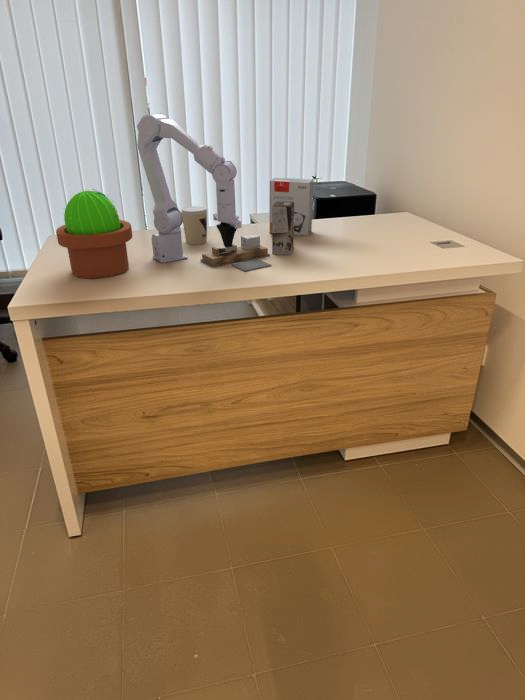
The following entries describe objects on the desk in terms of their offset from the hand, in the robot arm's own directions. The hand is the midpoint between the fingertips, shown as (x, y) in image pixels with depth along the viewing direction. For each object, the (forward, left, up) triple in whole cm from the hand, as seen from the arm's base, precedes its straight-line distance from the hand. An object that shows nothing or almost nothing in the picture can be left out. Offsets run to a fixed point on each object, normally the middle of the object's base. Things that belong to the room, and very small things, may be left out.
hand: (228, 246), depth 167 cm
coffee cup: (+3, +29, -6) cm, 30 cm away
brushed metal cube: (+10, +2, -3) cm, 11 cm away
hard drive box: (+39, +19, -6) cm, 44 cm away
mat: (+4, -8, -5) cm, 10 cm away
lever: (0, +2, -2) cm, 3 cm away
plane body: (+4, +2, -5) cm, 7 cm away
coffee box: (+22, 0, -6) cm, 23 cm away
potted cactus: (-37, +16, -6) cm, 41 cm away
